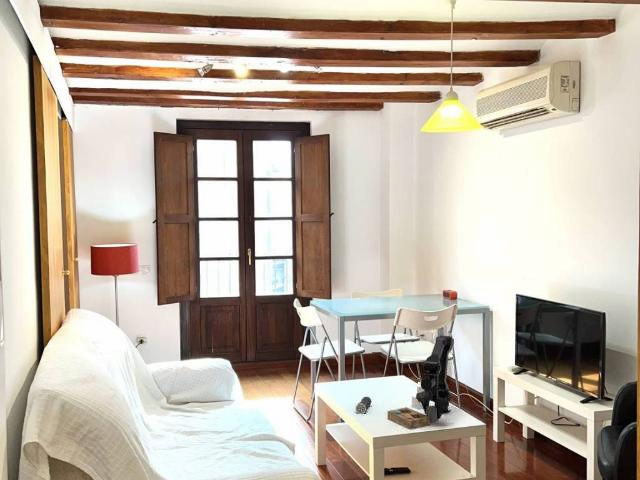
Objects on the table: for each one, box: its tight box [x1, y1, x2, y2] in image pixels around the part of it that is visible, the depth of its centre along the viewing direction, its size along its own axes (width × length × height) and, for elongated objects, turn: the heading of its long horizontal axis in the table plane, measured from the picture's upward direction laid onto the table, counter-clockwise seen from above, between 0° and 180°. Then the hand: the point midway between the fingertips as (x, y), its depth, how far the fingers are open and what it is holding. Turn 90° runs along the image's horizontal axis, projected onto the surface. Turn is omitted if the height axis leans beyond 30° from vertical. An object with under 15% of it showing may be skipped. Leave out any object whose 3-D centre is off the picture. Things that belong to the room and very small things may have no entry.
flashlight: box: [355, 396, 372, 415], centre depth 341 cm, size 15×5×5 cm, turn 163°
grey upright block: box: [425, 404, 439, 424], centre depth 321 cm, size 4×4×7 cm
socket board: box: [387, 407, 431, 430], centre depth 320 cm, size 12×18×5 cm, turn 31°
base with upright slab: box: [411, 381, 424, 410], centre depth 344 cm, size 9×9×12 cm
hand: (432, 416), depth 321 cm, fingers open, 9 cm apart
